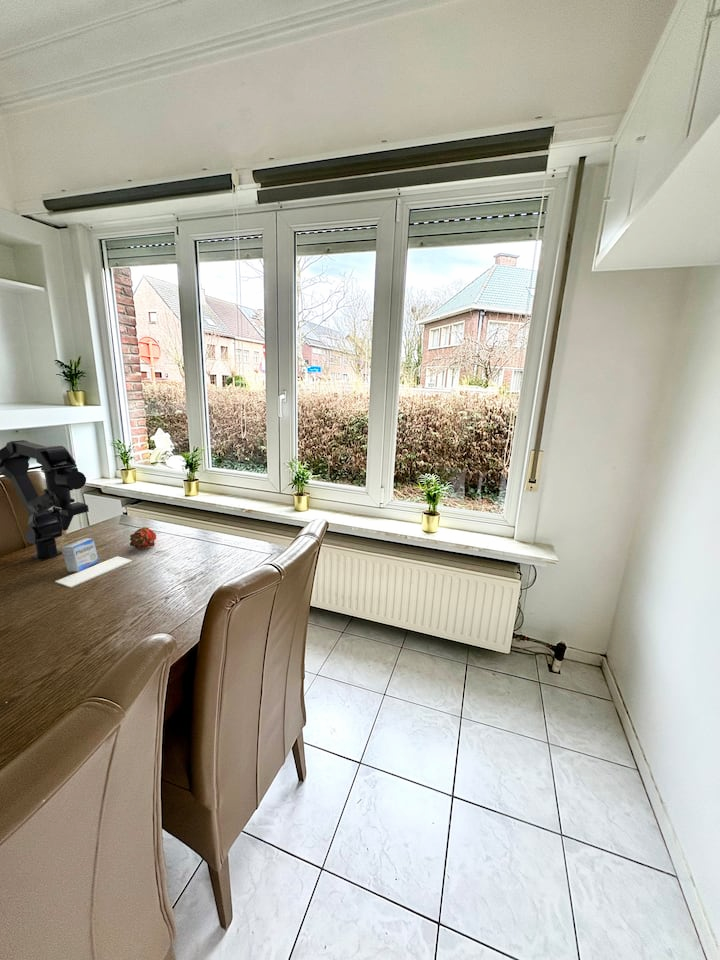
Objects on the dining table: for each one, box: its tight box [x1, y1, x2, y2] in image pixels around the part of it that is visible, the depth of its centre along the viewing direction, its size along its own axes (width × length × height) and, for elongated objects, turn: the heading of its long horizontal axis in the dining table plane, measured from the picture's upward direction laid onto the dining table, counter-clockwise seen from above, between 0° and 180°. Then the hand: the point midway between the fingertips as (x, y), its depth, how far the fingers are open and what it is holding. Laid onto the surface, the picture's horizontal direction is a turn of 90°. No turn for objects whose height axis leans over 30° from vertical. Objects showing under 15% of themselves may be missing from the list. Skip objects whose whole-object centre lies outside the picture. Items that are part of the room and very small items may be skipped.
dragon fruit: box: [129, 526, 157, 551], centre depth 143 cm, size 8×8×12 cm
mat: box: [54, 555, 133, 589], centre depth 125 cm, size 8×20×1 cm, turn 157°
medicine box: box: [61, 537, 100, 573], centre depth 126 cm, size 8×4×9 cm, turn 169°
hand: (65, 530), depth 127 cm, fingers closed
